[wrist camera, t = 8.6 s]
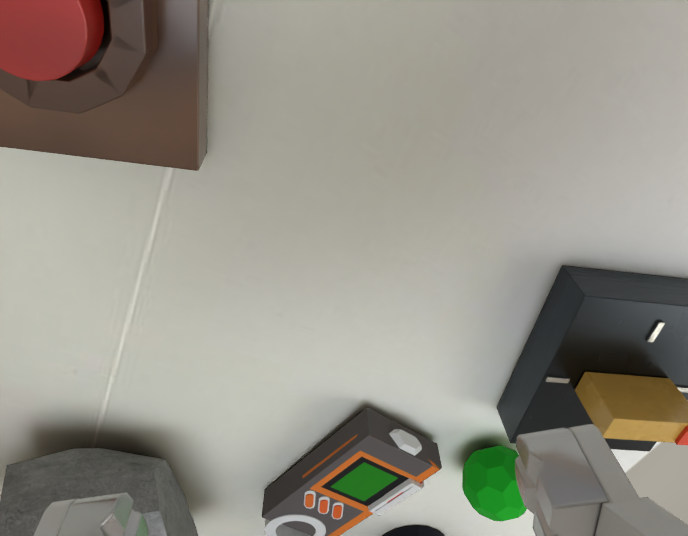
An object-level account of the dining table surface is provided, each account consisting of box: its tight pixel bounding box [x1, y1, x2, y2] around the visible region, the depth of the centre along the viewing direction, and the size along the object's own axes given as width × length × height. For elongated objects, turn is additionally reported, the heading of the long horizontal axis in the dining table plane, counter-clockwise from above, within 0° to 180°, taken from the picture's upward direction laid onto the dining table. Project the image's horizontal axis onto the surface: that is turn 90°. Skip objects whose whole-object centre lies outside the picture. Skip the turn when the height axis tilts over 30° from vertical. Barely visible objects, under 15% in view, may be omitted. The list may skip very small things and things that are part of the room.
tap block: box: [497, 265, 688, 451], centre depth 32 cm, size 12×10×3 cm
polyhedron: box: [462, 445, 527, 521], centre depth 37 cm, size 5×5×5 cm
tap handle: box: [575, 372, 688, 445], centre depth 29 cm, size 6×2×4 cm, turn 81°
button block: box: [0, 0, 209, 171], centre depth 19 cm, size 12×10×4 cm
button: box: [0, 0, 104, 81], centre depth 17 cm, size 4×4×2 cm
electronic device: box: [262, 408, 442, 536], centre depth 38 cm, size 7×3×15 cm
